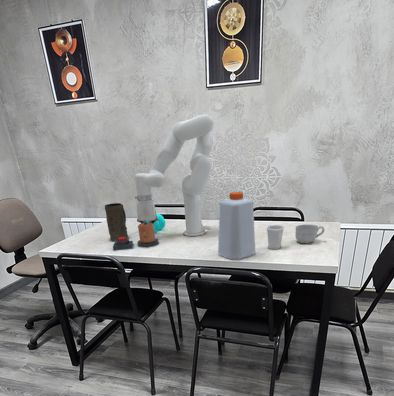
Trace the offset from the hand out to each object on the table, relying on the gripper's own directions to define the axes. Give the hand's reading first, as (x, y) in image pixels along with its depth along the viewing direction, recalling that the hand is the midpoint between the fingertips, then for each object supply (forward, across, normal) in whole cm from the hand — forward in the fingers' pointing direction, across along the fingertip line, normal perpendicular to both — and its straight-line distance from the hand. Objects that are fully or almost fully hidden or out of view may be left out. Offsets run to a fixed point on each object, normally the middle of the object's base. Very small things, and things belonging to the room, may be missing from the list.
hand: (149, 232), depth 195 cm
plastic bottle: (+4, +48, -32) cm, 58 cm away
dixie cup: (+4, +67, -24) cm, 72 cm away
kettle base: (+5, 0, -8) cm, 9 cm away
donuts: (+5, +1, +18) cm, 18 cm away
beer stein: (+5, -19, +8) cm, 21 cm away
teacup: (+4, +86, -17) cm, 88 cm away
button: (+1, -13, -12) cm, 18 cm away
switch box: (+5, -13, -12) cm, 18 cm away
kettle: (+3, 0, -8) cm, 8 cm away
